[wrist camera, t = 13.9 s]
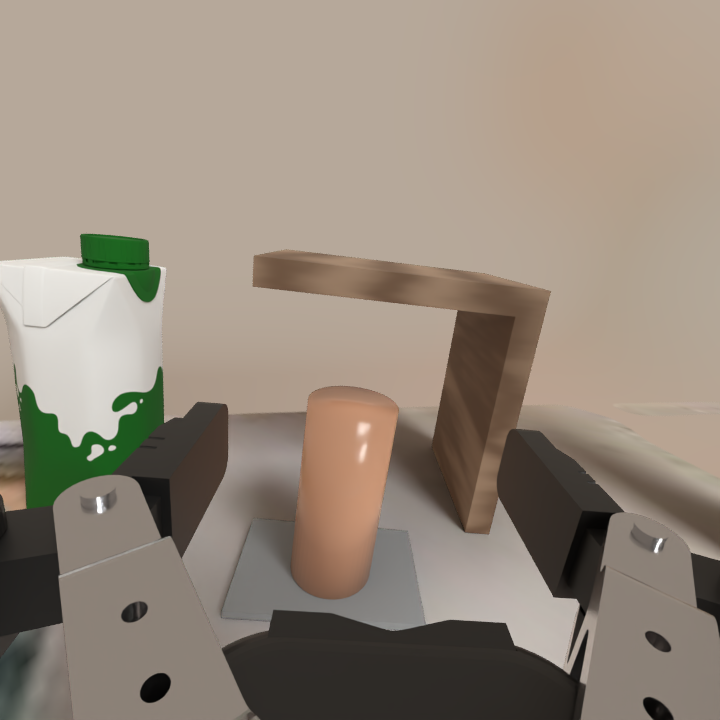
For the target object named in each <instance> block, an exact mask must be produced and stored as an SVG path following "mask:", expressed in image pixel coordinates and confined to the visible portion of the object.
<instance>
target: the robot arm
mask: <svg viewBox="0 0 720 720" xmlns="http://www.w3.org/2000/svg"><path fill="white" fill-rule="evenodd" d="M227 461H228V408H227V405H226V404H218V403H205V402H197V403H196V404H195V405H194V406H193V408H192V409H191V410H190V411H189V412H188V413H187V414H186V415H185V416H184V418H173V419H171V420H169V421H168V422H166V423H164V424H162V425H160V426H158V427H157V428H156V429H155V430H154V431H153V432H152V433H151V434H150V435H149V436H148V439H145V440H144V441H143V442H142V443H141V445H140V446H139V448H137V449H136V450H135V451H134V452H133V453H132V454H131V455H130V456H129V457H128V458H127V459H126V460H125V461H124V462H123V463H122V464H121V465H120V466H119V467H118V468H117V469H116V470H115V471H114V472H113V473H112V474H111V475H105V476H99V477H94V478H90V479H87V480H84V481H81V482H79V483H77V484H75V485H73V486H71V487H69V488H68V489H66V490H65V491H64V492H62V493H61V494H60V495H59V496H58V497H57V499H56V500H55V502H54V504H53V505H52V506H45V507H38V508H30V509H22V510H14V511H7V512H5V508H4V503H3V498H2V496H1V495H0V658H1V656H2V655H3V654H4V652H5V651H6V650H7V649H8V647H9V646H10V645H11V643H12V642H13V641H14V639H15V638H16V637H17V635H18V634H19V632H23V631H28V630H32V629H37V628H41V627H46V626H51V625H55V624H60V623H63V626H64V636H65V646H66V655H67V665H68V675H69V684H70V694H71V704H72V713H73V720H720V561H719V560H715V559H711V558H708V557H704V556H701V555H697V554H693V553H691V552H690V549H689V547H688V545H687V544H686V543H685V542H684V540H683V539H682V538H680V537H679V536H678V535H677V534H676V533H675V532H673V531H672V530H670V529H669V528H667V527H666V526H664V525H662V524H660V523H658V522H656V521H654V520H652V519H650V518H647V517H644V516H641V515H637V514H633V513H626V512H624V511H623V510H622V509H621V508H620V507H619V506H618V504H617V503H616V502H615V501H614V500H613V499H612V498H611V497H610V496H609V495H608V494H607V493H606V492H605V491H604V490H603V489H602V488H601V487H600V486H599V485H598V484H596V483H595V481H594V480H593V479H592V478H591V477H590V476H589V474H586V471H585V470H584V469H583V468H582V467H581V466H580V465H579V464H578V463H577V462H576V461H575V460H574V459H572V458H570V457H569V456H567V455H566V454H564V453H563V452H561V451H559V450H558V449H556V448H555V447H554V446H553V445H552V443H551V442H550V441H549V440H548V439H547V438H546V437H545V436H544V435H543V434H542V433H541V432H540V431H533V430H521V429H511V430H510V431H509V433H508V435H507V438H506V442H505V446H504V450H503V454H502V458H501V462H500V467H499V471H498V475H497V492H498V496H499V498H500V500H501V502H502V504H503V506H504V508H505V509H506V511H507V513H508V515H509V517H510V518H511V520H512V522H513V524H514V526H515V528H516V529H517V531H518V533H519V535H520V537H521V538H522V540H523V542H524V544H525V546H526V548H527V549H528V551H529V553H530V555H531V557H532V558H533V560H534V562H535V564H536V566H537V568H538V569H539V571H540V573H541V575H542V577H543V578H544V580H545V582H546V584H547V586H548V588H549V589H550V591H551V593H552V595H553V597H556V598H572V599H577V600H578V602H579V603H580V604H579V607H578V610H577V612H576V615H575V619H574V623H573V628H572V632H571V636H570V640H569V645H568V649H567V653H566V658H565V662H564V666H563V669H561V668H559V667H558V666H556V665H555V664H553V663H552V662H550V661H548V660H546V659H545V658H543V657H541V656H539V655H537V654H535V653H533V652H530V651H528V650H526V649H523V648H521V647H518V646H514V643H513V640H512V638H511V635H510V633H509V630H508V628H507V625H506V623H495V622H478V621H461V620H447V621H442V622H437V623H432V624H428V625H423V626H418V627H413V628H408V629H404V630H399V631H390V630H385V629H382V628H379V627H376V626H372V625H369V624H366V623H363V622H359V621H356V620H353V619H350V618H346V617H343V616H340V615H337V614H333V613H323V612H306V611H289V610H273V613H272V618H271V623H270V628H269V631H265V632H260V633H257V634H254V635H250V636H247V637H244V638H242V639H240V640H237V641H235V642H233V643H231V644H229V645H227V646H225V647H223V648H222V649H221V647H220V645H219V643H218V641H217V638H216V636H215V634H214V631H213V629H212V627H211V625H210V622H209V620H208V618H207V616H206V613H205V611H204V609H203V607H202V604H201V602H200V600H199V598H198V595H197V593H196V591H195V589H194V586H193V584H192V582H191V580H190V577H189V575H188V573H187V571H186V568H185V566H184V564H183V562H182V559H181V558H182V556H183V554H184V553H185V551H186V549H187V547H188V545H189V543H190V541H191V539H192V537H193V535H194V533H195V531H196V529H197V527H198V525H199V523H200V521H201V520H202V518H203V516H204V514H205V512H206V510H207V508H208V506H209V504H210V502H211V500H212V498H213V496H214V494H215V492H216V490H217V488H218V487H219V485H220V483H221V481H222V479H223V477H224V474H225V471H226V467H227Z"/></svg>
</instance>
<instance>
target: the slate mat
mask: <svg viewBox="0 0 720 720" xmlns="http://www.w3.org/2000/svg"><path fill="white" fill-rule="evenodd" d="M294 527H295V522H294V521H282V520H270V519H258V518H253V521H252V524H251V527H250V530H249V533H248V536H247V539H246V541H245V544H244V547H243V550H242V553H241V556H240V559H239V562H238V565H237V568H236V571H235V573H234V576H233V579H232V582H231V585H230V588H229V591H228V594H227V597H226V600H225V603H224V606H223V608H222V613H221V618H231V619H246V620H261V621H271V618H272V613H273V610H289V611H306V612H323V613H333V614H337V615H340V616H343V617H346V618H350V619H353V620H356V621H359V622H363V623H366V624H369V625H372V626H376V627H379V628H382V629H394V630H404V629H408V628H413V627H418V626H423V625H426V622H425V617H424V612H423V607H422V602H421V597H420V592H419V587H418V581H417V576H416V571H415V566H414V561H413V556H412V551H411V546H410V541H409V536H408V531H403V530H391V529H379V528H378V530H377V535H376V541H375V547H374V552H373V558H372V563H371V569H370V575H369V578H368V581H367V583H366V584H365V586H364V587H363V588H362V589H361V590H360V591H359V592H357V593H356V594H354V595H352V596H350V597H347V598H343V599H336V600H332V599H323V598H319V597H316V596H313V595H311V594H309V593H307V592H306V591H304V590H303V589H302V588H301V587H300V586H299V585H298V584H297V583H296V581H295V580H294V578H293V576H292V573H291V567H290V565H291V555H292V545H293V536H294Z"/></svg>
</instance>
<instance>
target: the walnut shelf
mask: <svg viewBox="0 0 720 720" xmlns="http://www.w3.org/2000/svg"><path fill="white" fill-rule="evenodd" d="M253 287H261V288H270V289H279V290H287V291H296V292H305V293H314V294H322V295H331V296H341V297H349V298H357V299H365V300H374V301H383V302H391V303H400V304H409V305H418V306H426V307H435V308H445V309H452V310H458V312H457V317H456V322H455V328H454V333H453V338H452V343H451V348H450V354H449V359H448V364H447V369H446V375H445V380H444V385H443V390H442V396H441V401H440V406H439V411H438V417H437V422H436V427H435V432H434V437H433V443H432V449H433V451H434V454H435V457H436V459H437V462H438V464H439V467H440V469H441V472H442V474H443V477H444V480H445V482H446V485H447V487H448V490H449V492H450V495H451V497H452V500H453V503H454V505H455V508H456V510H457V513H458V515H459V518H460V521H461V523H462V526H463V528H464V531H465V532H468V533H480V534H489V532H490V528H491V524H492V520H493V516H494V512H495V508H496V504H497V500H498V492H497V475H498V471H499V467H500V462H501V458H502V454H503V450H504V446H505V442H506V438H507V435H508V433H509V431H510V430H511V429H516V426H517V422H518V418H519V414H520V410H521V406H522V402H523V399H524V394H525V391H526V386H527V383H528V379H529V375H530V371H531V367H532V363H533V359H534V355H535V351H536V348H537V343H538V340H539V335H540V332H541V328H542V324H543V320H544V316H545V312H546V308H547V304H548V301H549V296H550V293H551V291H548V290H545V289H541V288H537V287H533V286H530V285H526V284H522V283H518V282H515V281H511V280H507V279H503V278H500V277H496V276H492V275H489V274H485V273H477V272H468V271H459V270H451V269H444V268H435V267H427V266H419V265H411V264H402V263H394V262H386V261H378V260H369V259H361V258H352V257H344V256H336V255H327V254H320V253H311V252H303V251H295V250H281V251H276V252H271V253H265V254H260V255H255V256H254V265H253Z"/></svg>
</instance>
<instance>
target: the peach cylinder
mask: <svg viewBox="0 0 720 720" xmlns="http://www.w3.org/2000/svg"><path fill="white" fill-rule="evenodd" d="M398 413H399V408H398V406H397V405H396V403H395V402H394V401H393V400H391V399H390V398H388V397H387V396H385V395H383V394H380V393H378V392H375V391H372V390H368V389H363V388H358V387H350V386H331V387H325V388H321V389H318V390H315V391H314V392H312V393H311V394H310V395H309V398H308V406H307V415H306V424H305V434H304V443H303V452H302V462H301V471H300V480H299V489H298V499H297V508H296V517H295V527H294V536H293V545H292V555H291V565H290V567H291V573H292V576H293V578H294V580H295V581H296V583H297V584H298V585H299V586H300V587H301V588H302V589H303V590H304V591H306V592H307V593H309V594H311V595H313V596H316V597H319V598H323V599H332V600H336V599H343V598H347V597H350V596H352V595H354V594H356V593H357V592H359V591H360V590H361V589H362V588H363V587H364V586H365V584H366V583H367V581H368V578H369V575H370V569H371V563H372V558H373V552H374V547H375V541H376V535H377V530H378V524H379V519H380V513H381V508H382V502H383V496H384V491H385V485H386V480H387V474H388V468H389V463H390V457H391V452H392V446H393V441H394V435H395V429H396V424H397V418H398Z"/></svg>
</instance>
